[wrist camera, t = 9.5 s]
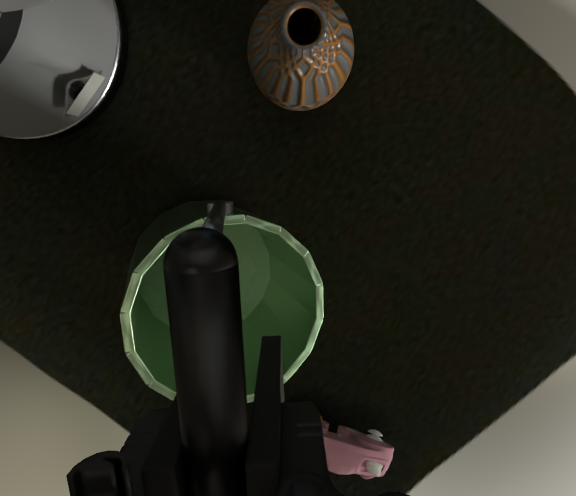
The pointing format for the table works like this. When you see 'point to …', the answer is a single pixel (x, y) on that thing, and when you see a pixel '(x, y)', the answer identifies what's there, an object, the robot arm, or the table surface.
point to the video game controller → (356, 452)
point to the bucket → (216, 325)
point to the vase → (300, 52)
